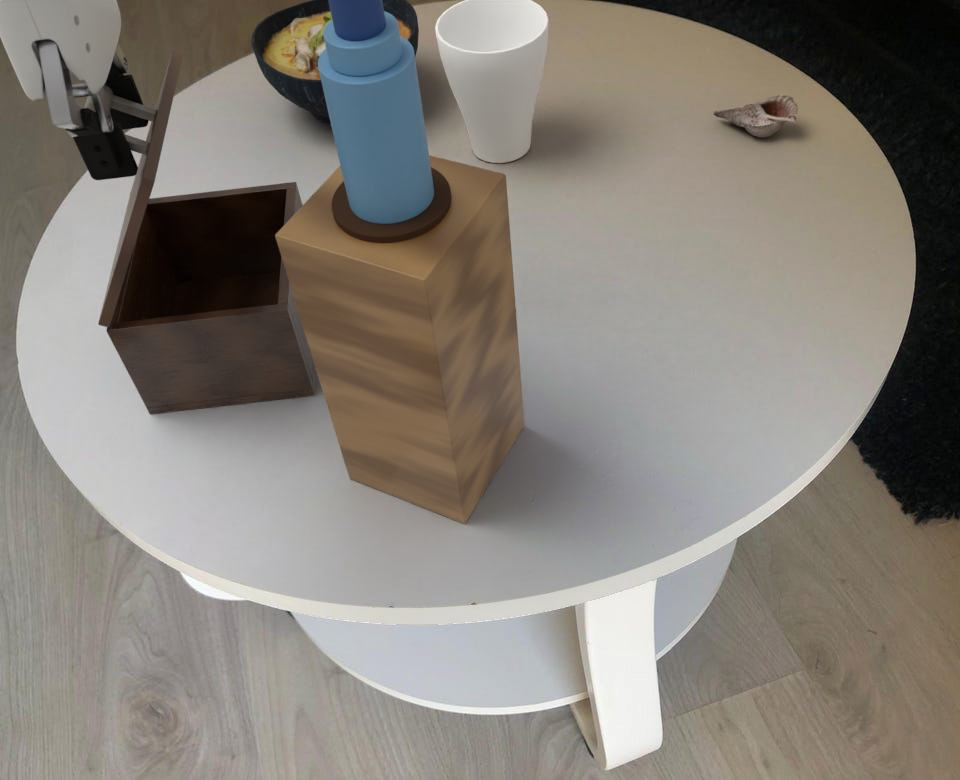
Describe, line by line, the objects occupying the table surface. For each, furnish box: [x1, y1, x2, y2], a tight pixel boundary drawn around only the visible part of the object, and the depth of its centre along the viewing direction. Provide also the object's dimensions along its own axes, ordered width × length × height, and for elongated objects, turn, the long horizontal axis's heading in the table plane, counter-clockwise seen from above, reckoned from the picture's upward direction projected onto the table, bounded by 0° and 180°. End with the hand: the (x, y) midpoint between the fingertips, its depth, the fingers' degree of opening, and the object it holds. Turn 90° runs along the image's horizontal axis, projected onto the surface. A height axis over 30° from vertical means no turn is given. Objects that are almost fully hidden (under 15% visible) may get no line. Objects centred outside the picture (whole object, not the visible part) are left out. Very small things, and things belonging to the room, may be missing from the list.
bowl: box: [250, 0, 420, 125], centre depth 105 cm, size 17×17×10 cm
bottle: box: [318, 0, 434, 224], centre depth 53 cm, size 5×5×13 cm
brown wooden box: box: [105, 181, 316, 415], centre depth 83 cm, size 14×16×10 cm
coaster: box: [332, 167, 452, 243], centre depth 58 cm, size 7×7×1 cm
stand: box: [275, 154, 525, 525], centre depth 67 cm, size 10×10×24 cm
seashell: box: [713, 94, 799, 138], centre depth 98 cm, size 4×8×4 cm
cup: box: [434, 0, 550, 164], centre depth 96 cm, size 10×10×14 cm
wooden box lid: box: [83, 50, 183, 328], centre depth 73 cm, size 14×16×5 cm
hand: (121, 148), depth 71 cm, fingers closed on wooden box lid, 5 cm apart
